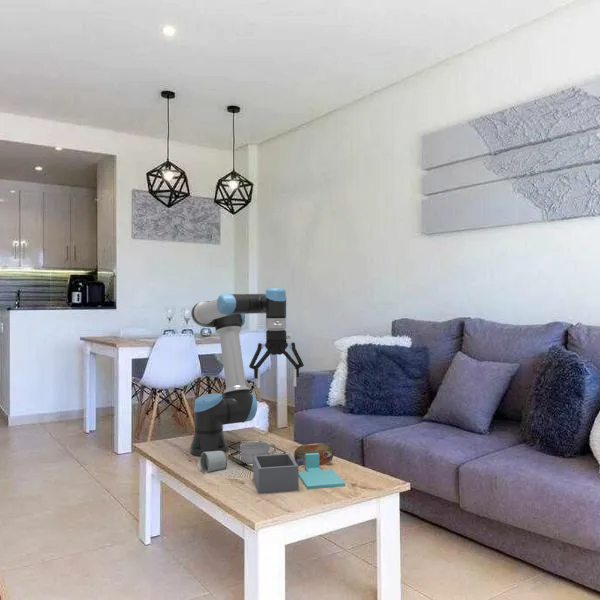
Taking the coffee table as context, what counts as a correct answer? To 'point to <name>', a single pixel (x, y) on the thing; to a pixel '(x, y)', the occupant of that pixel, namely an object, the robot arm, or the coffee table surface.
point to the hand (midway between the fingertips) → (276, 386)
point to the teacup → (255, 450)
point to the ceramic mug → (213, 461)
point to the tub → (275, 473)
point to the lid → (318, 474)
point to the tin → (320, 448)
